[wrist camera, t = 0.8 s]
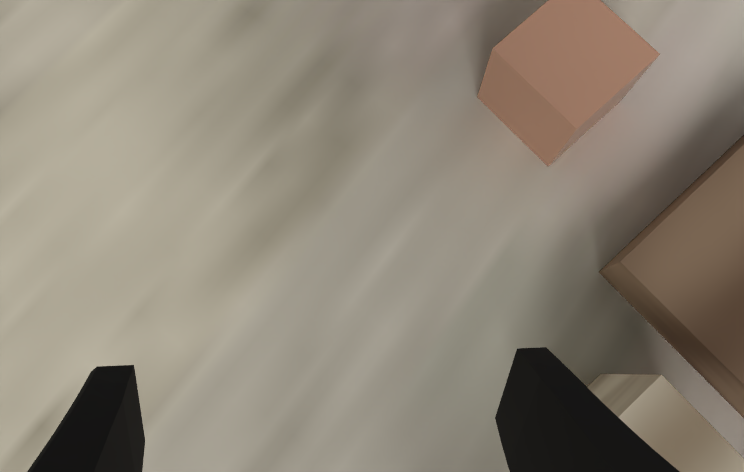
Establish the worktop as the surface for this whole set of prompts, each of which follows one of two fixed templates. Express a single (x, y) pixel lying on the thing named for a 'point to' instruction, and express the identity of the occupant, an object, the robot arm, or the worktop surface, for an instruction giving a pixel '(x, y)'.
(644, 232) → the walnut block
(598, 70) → the terracotta cube
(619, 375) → the maple block
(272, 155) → the worktop surface
